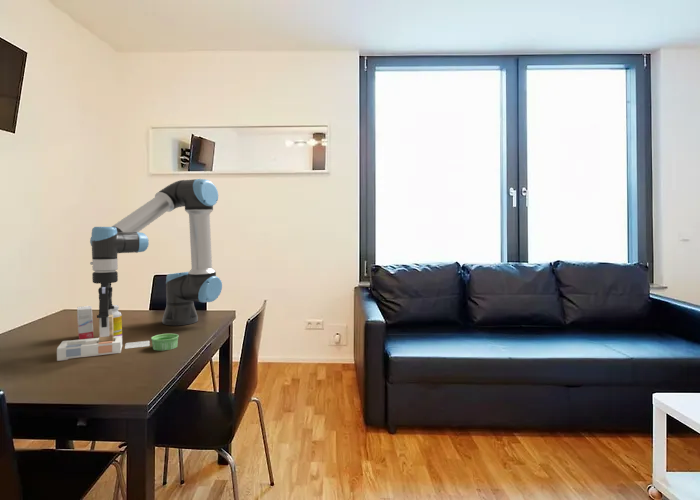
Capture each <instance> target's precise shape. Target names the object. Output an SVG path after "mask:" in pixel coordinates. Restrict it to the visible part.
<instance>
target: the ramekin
mask: <svg viewBox="0 0 700 500" xmlns="http://www.w3.org/2000/svg"><path fill="white" fill-rule="evenodd" d="M150 339H151V343H152V350H154V351H161V352H163V351H169V350H174V349H176V348H178V343H179V342H178V341H179V334H177V333H162V334H156V335H154V336H153V335H152V336H151V337H150Z"/></svg>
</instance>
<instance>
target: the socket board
mask: <svg viewBox="0 0 700 500" xmlns="http://www.w3.org/2000/svg"><path fill="white" fill-rule="evenodd" d="M122 348H123V335H122V336H114V341H113V342H112V341H107V342H99V337H95V338H94V337H93V338H89V339H80V340H79V339H73V340H71V339H70V340H62V341H61V343H60V344H59V345H58V346H57V348H56V361H57V362H58V361H68V360H70V359H77V358H86V357H95V356H96V357H97V356H102V355H113V354H121V353H122Z"/></svg>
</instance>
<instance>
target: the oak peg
mask: <svg viewBox="0 0 700 500" xmlns="http://www.w3.org/2000/svg"><path fill="white" fill-rule="evenodd" d="M108 317H109V336H107V337H100V324H99V323H98V338H99V342H107V341H112V342H113V341H114V336H113V315H109V316H108Z"/></svg>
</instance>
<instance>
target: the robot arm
mask: <svg viewBox="0 0 700 500" xmlns="http://www.w3.org/2000/svg"><path fill="white" fill-rule="evenodd" d="M218 201H219V192H218V189H217V186H216V185H215V184H214V183H213V181H211V180H209V179H205V178H196V179H183V180H177V181H174V182H172V183H171V184H169V185H167V186H165V187H164V188H162V189H160V190H159V191H158V192H156V193H155V194H154V197H153V198H152V199H150V200H149V201H147V202H146V203H144V204H143V205H141V206H140V207H138V208H137V209H136V210H134V211H132V212H131V213H130V214H128V215H127V216H125V217H123V218H122V219H121V220H119V221H118V222H117V223H115V224H113V225H111V226H94V227H93V228H92V230H91V236H90V238H89V239H90V241H89V243H90V246H91V258H92V259H91V261H90V263H89V264H90V265H92V269H91V270H92V271H93V272H92V283H93V284H100V287H99V288H98V291H97V292H98V306H99V307H98V315H97V314H96V318H97V319H98V325H99V324H100V337H107V336H109V317H108V316H109V315H112V309H114V306H112V305H113V287H112V284H113V283H117V282H118V280H119V279H118V277H119V275H118V274H119V273H118V271H117V270H118V268H119V267H118V261H119V259H118V254H129V253H130V254H133V253H134V254H135V253H136V254H137V253H143V252H145V251H146V250H147V249H148V248H149V245H150V244H149V237H148V236H147V234H146V233H144V232H141V231H142V230H143V229H146V227H148V226H149V225H150V224H151V223H153V222H154V221H156V220H158V218H160V217H161V216H163V215H164V214H166V213H167V212H168V213H170V212H173V211H175V209H178V208H182V207H184V211H185V212H186V213H187V214H188V220H189V222H188V223H189V225H188V226H189V240H190V241H189V242H190V260H191V261H190V262H191V263H190V264H191V269H190V270H189V271H184V272H175V273H169V274H167V275H166V278H165V279H166V281H165V292H166V293H165V296H166V298H165V299H166V307H165V309H164V313H163V317H162V324H163V325H166V326H184V325H191V324H195V323H198V321H199V319H198V318H199V316H198V314H197V313H198V312H197V310H196V307H195V303H194V302H200V303H213V302H214V301H216V300H217V299H218V298H219V296H220V295H221V293H222V289H223V282H222V280H221V278H220V277H218V276H217V271H216V270H215V269H214V268H213V263H212V262H213V260H212V257H213V256H212V237H211V216H210V215H211V213H212V212H214V206H215V205H216V204H217V203H218ZM110 309H111V310H110Z"/></svg>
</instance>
